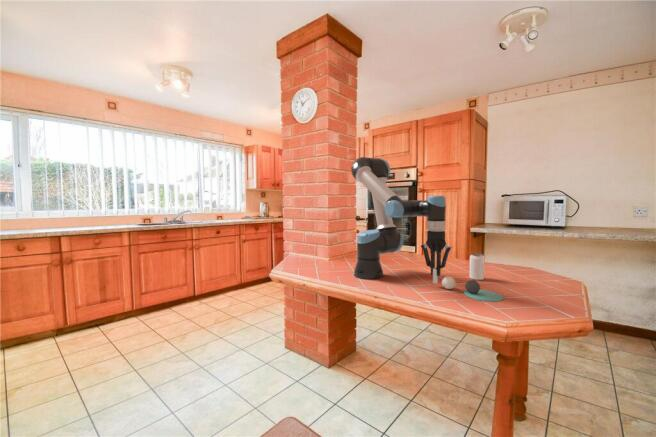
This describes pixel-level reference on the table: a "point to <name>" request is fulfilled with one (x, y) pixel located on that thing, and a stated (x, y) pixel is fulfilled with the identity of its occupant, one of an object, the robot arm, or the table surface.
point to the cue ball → (448, 282)
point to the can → (477, 266)
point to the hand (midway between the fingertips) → (435, 282)
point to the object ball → (472, 286)
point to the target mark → (485, 296)
